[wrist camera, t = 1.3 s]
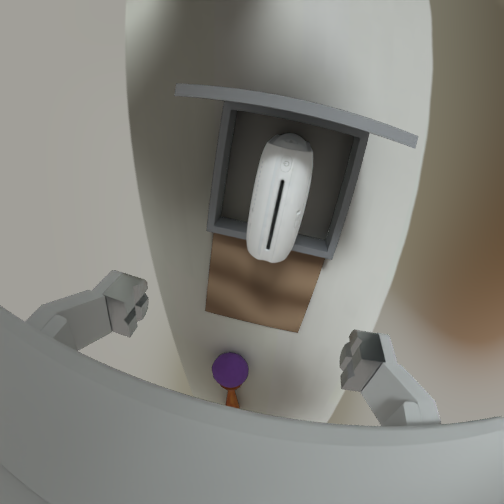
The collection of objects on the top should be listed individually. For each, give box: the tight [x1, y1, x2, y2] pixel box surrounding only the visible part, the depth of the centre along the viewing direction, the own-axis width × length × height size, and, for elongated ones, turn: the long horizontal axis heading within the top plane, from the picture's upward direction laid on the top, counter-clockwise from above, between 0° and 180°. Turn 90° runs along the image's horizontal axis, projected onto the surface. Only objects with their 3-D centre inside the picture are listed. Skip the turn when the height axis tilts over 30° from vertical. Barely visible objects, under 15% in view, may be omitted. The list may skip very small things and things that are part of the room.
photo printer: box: [246, 133, 313, 263], centre depth 25 cm, size 10×4×12 cm, turn 170°
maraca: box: [212, 352, 248, 409], centre depth 48 cm, size 6×6×20 cm
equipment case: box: [175, 83, 418, 260], centre depth 24 cm, size 15×15×15 cm
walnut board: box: [205, 233, 325, 333], centre depth 38 cm, size 13×14×1 cm
